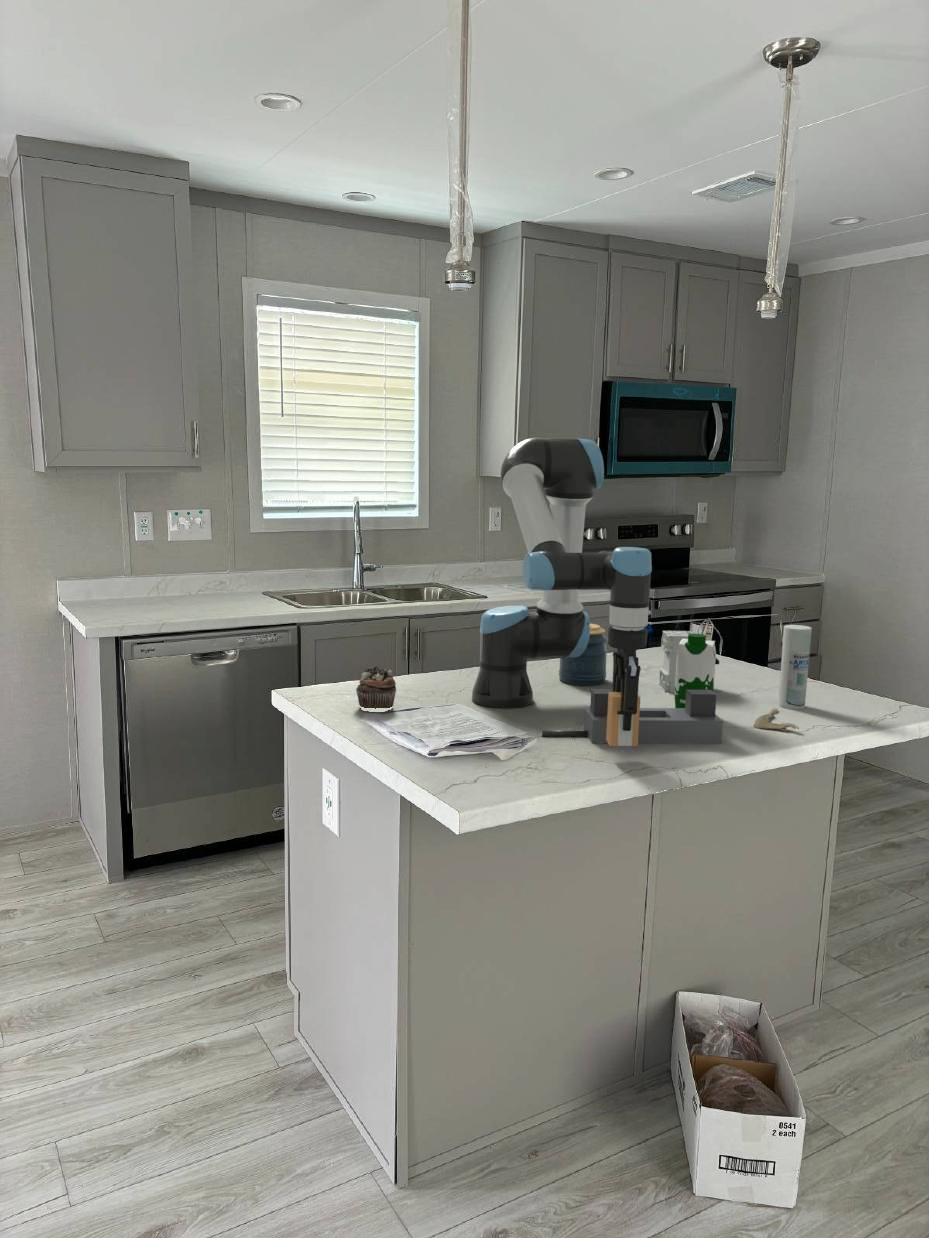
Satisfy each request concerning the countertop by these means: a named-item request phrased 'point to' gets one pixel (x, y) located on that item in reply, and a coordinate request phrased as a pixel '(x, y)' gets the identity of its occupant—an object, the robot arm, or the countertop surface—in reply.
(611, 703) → the plug
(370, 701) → the cupcake
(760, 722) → the jawbone
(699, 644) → the milk carton
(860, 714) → the countertop surface
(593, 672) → the canister
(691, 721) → the power strip
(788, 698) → the spray can
